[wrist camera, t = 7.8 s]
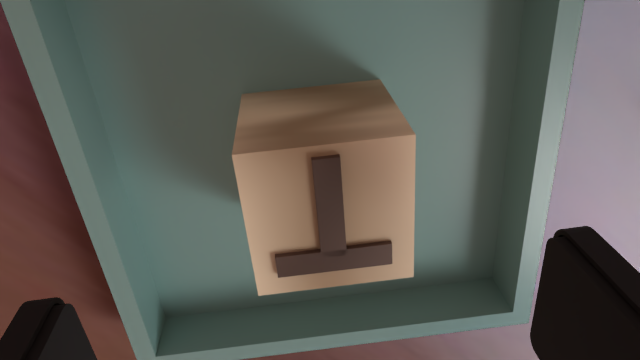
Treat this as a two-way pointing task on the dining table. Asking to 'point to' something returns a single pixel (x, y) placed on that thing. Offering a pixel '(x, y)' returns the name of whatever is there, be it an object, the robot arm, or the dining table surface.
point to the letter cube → (326, 186)
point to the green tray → (218, 169)
